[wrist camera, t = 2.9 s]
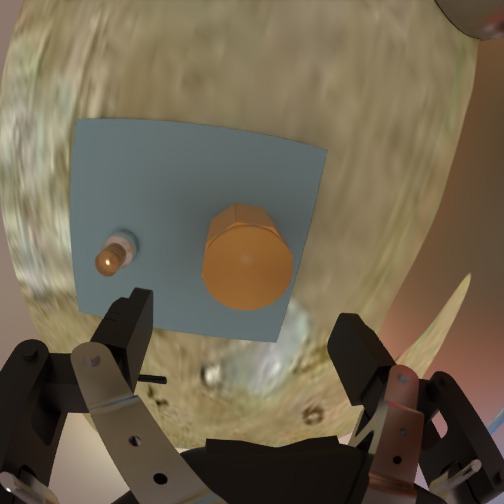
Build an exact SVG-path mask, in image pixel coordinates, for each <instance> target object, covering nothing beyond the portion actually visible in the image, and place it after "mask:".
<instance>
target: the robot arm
mask: <svg viewBox="0 0 504 504" xmlns="http://www.w3.org/2000/svg"><path fill="white" fill-rule="evenodd" d="M436 1H437V3H438V5H439V6H440V8H441V9H442V11H443V12H444V13H445V15H446V16H447V17H448V18H449V19H450V21H451V22H452V23H453V24H454V25H455V26H456V27H457V28H458V29H460V30H461V31H462V32H463V33H465V34H466V35H468V36H471V37H477V38H479V39H480V40H481V41H485V40H490V39H497V38H504V0H436ZM152 330H153V290H149V289H143V288H138V287H135V288H134V289H133V291H132V293H131V295H130V297H129V298H125V297H120V298H119V299H117V300H116V301H114V302H113V303H112V304H111V306H110V308H109V309H108V312H107V313H106V314H105V316H104V319H102V321H101V323H100V324H99V326H98V328H97V330H96V331H95V333H94V335H93V337H92V338H91V340H90V342H85V343H82V344H80V345H78V346H77V347H75V348H74V350H73V351H72V353H69V354H63V353H49V350H48V348H47V346H46V345H45V344H44V343H43V342H42V341H39V340H35V339H30V340H25V341H23V342H21V343H20V344H18V345H17V346H16V348H15V349H14V351H13V352H12V354H11V355H10V357H9V358H8V360H7V362H6V363H5V365H4V367H3V368H2V370H1V371H0V504H60V503H59V501H58V499H57V497H56V496H55V494H54V493H53V492H52V491H51V490H50V489H49V488H48V486H49V481H50V476H51V472H52V467H53V463H54V459H55V455H56V451H57V447H58V444H59V440H60V436H61V433H62V430H63V427H64V423H65V420H66V417H67V414H68V412H69V413H70V412H71V413H90V415H91V417H92V420H93V422H94V424H95V426H96V429H97V431H98V433H99V435H100V437H101V439H102V441H103V443H104V445H105V447H106V449H107V451H108V453H109V455H110V456H111V458H112V460H113V462H114V464H115V465H116V467H117V469H118V470H119V472H120V474H121V476H122V477H123V479H124V481H125V482H126V484H127V485H128V487H129V488H130V490H129V491H128V492H127V493H125V494H124V495H123V496H121V497H120V498H118V499H117V500H116V501H114V502H113V503H111V504H486V503H488V502H489V501H491V500H492V499H494V498H495V497H497V496H498V495H499V494H501V493H502V492H504V459H503V457H502V455H501V453H500V452H499V450H498V448H497V446H496V444H495V443H494V441H493V439H492V437H491V436H490V434H489V432H488V430H487V429H486V427H485V426H484V424H483V422H482V421H481V419H480V417H479V416H478V414H477V413H476V411H475V410H474V408H473V406H472V405H471V403H470V402H469V401H468V399H467V397H466V396H465V394H464V393H463V391H462V390H461V389H460V387H459V386H458V384H457V383H456V381H455V380H454V379H453V378H452V377H451V376H450V375H449V374H447V373H445V372H442V371H437V372H435V373H434V374H433V376H432V377H431V378H430V380H425V379H419V378H418V376H417V374H416V373H415V372H414V371H413V370H412V369H411V368H409V367H407V366H404V365H397V364H396V363H395V361H394V360H393V358H392V357H391V355H390V354H389V352H388V351H387V350H386V348H385V347H384V346H383V344H382V342H381V341H380V340H379V338H378V337H377V335H376V334H375V332H374V331H373V330H372V329H370V328H369V327H368V326H367V325H365V323H364V322H363V321H362V319H361V318H360V316H359V315H358V314H353V313H341V314H340V315H339V316H338V319H337V321H336V323H335V326H334V328H333V331H332V333H331V335H330V338H329V340H328V345H327V349H328V353H329V356H330V358H331V360H332V362H333V364H334V367H335V369H336V371H337V373H338V375H339V378H340V380H341V382H342V384H343V387H344V389H345V391H346V393H347V396H348V398H349V400H350V403H351V405H352V406H357V405H363V406H364V408H363V410H362V411H361V413H360V415H359V418H358V421H357V423H356V426H355V428H354V431H353V433H352V436H351V438H350V441H349V443H348V445H345V444H339V441H338V438H337V435H336V436H328V437H320V438H310V439H306V440H302V441H299V442H296V443H293V444H289V445H286V446H282V447H269V446H264V445H259V444H254V443H250V442H245V441H239V440H219V439H207V438H206V444H205V447H200V448H195V449H190V450H187V451H184V452H182V453H180V454H179V453H178V452H177V450H176V449H175V448H174V446H173V445H172V444H171V442H170V441H169V440H168V438H167V437H166V435H165V434H164V433H163V431H162V430H161V428H160V427H159V425H158V424H157V423H156V421H155V420H154V418H153V417H152V415H151V414H150V412H149V410H148V409H147V407H146V406H145V404H144V403H143V401H142V400H141V398H140V397H139V396H138V395H136V396H134V395H133V394H134V391H135V387H136V384H137V380H138V377H139V374H140V370H141V367H142V364H143V360H144V357H145V354H146V351H147V348H148V344H149V341H150V338H151V335H152ZM438 411H440V413H441V414H442V416H443V418H444V420H445V421H446V423H447V426H448V431H447V433H446V435H445V436H444V437H443V438H442V439H441V438H440V435H439V433H438V432H437V430H436V428H435V426H434V424H433V422H432V420H431V419H432V418H433V417H434V416H435V415H436V414H437V412H438ZM418 463H419V466H420V468H421V470H422V473H423V475H424V478H425V480H426V483H427V485H428V488H429V491H428V490H426V489H424V488H422V487H420V486H419V485H417V484H415V483H414V481H415V477H416V472H417V467H418Z"/></svg>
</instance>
